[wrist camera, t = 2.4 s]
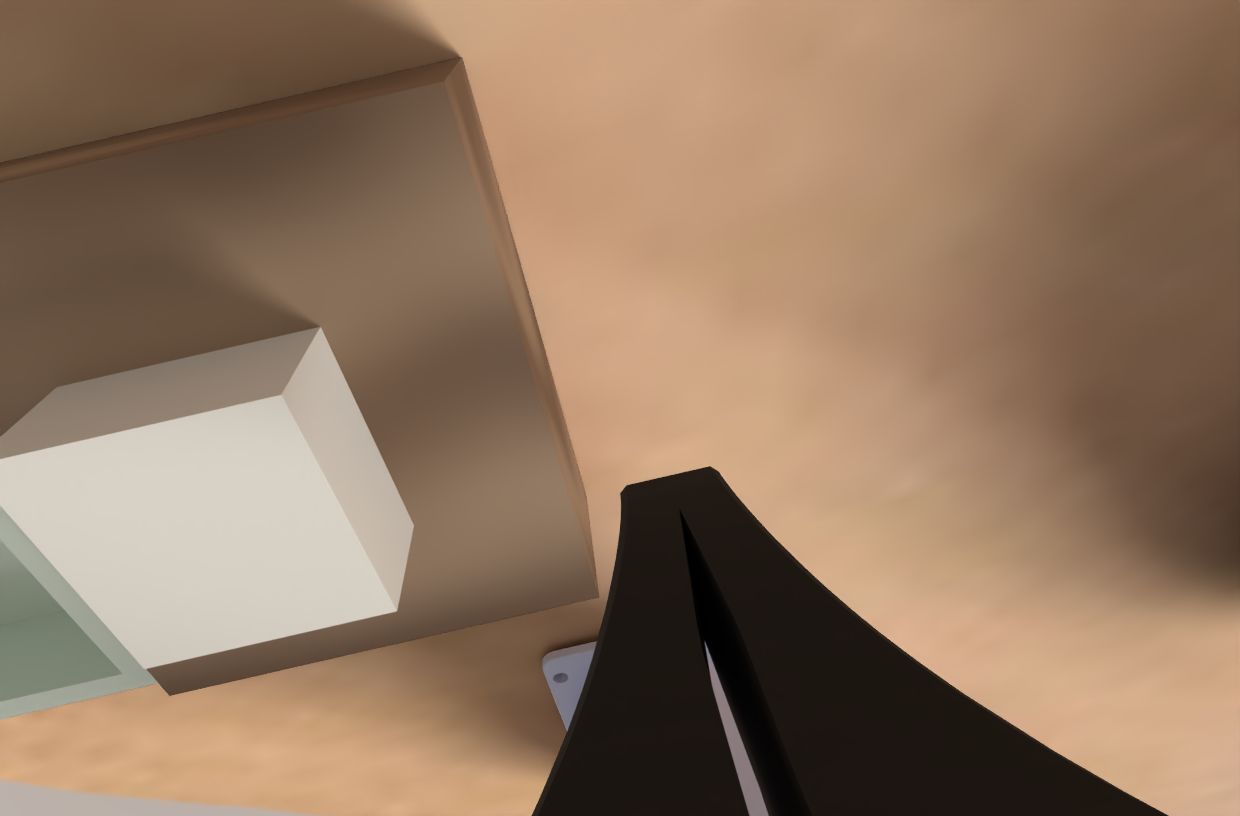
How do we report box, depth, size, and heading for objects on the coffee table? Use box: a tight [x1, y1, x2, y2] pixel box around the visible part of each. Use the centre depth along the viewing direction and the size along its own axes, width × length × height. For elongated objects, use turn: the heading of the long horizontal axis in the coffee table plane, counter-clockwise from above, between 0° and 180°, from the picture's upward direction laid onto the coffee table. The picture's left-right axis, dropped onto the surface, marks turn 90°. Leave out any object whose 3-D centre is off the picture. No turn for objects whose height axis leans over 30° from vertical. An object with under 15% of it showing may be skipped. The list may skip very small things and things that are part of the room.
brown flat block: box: [0, 57, 599, 696], centre depth 16 cm, size 12×11×4 cm
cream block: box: [0, 327, 414, 669], centre depth 13 cm, size 5×5×2 cm
